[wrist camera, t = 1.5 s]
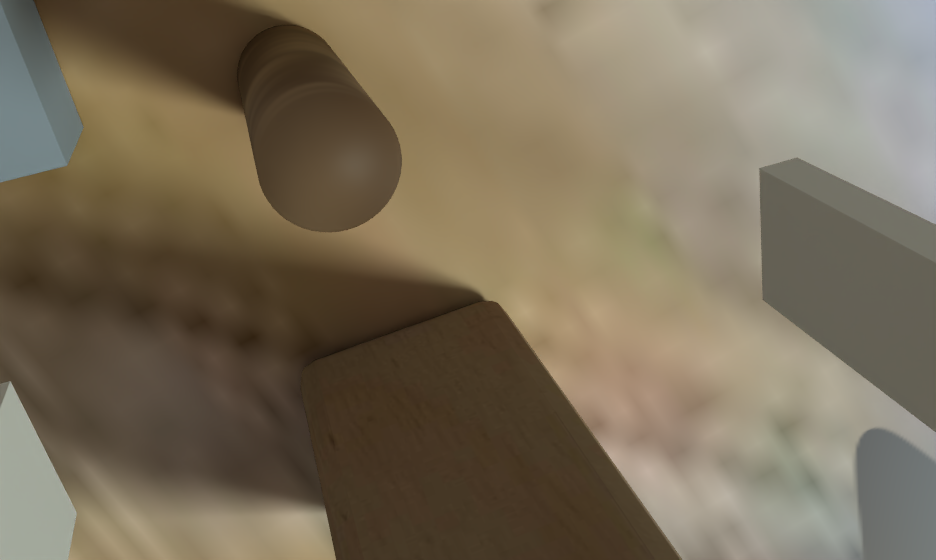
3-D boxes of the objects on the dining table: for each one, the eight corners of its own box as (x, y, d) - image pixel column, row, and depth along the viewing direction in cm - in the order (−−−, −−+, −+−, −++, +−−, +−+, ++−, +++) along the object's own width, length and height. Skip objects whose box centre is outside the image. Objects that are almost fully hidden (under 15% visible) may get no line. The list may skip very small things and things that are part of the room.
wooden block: (290, 359, 40) (367, 737, 23) (495, 286, 41) (717, 589, 24) (355, 519, 45) (459, 935, 27) (537, 449, 46) (748, 801, 29)
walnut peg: (254, 137, 35) (279, 248, 25) (224, 38, 34) (238, 112, 23) (350, 113, 36) (414, 210, 26) (326, 14, 34) (384, 76, 24)
